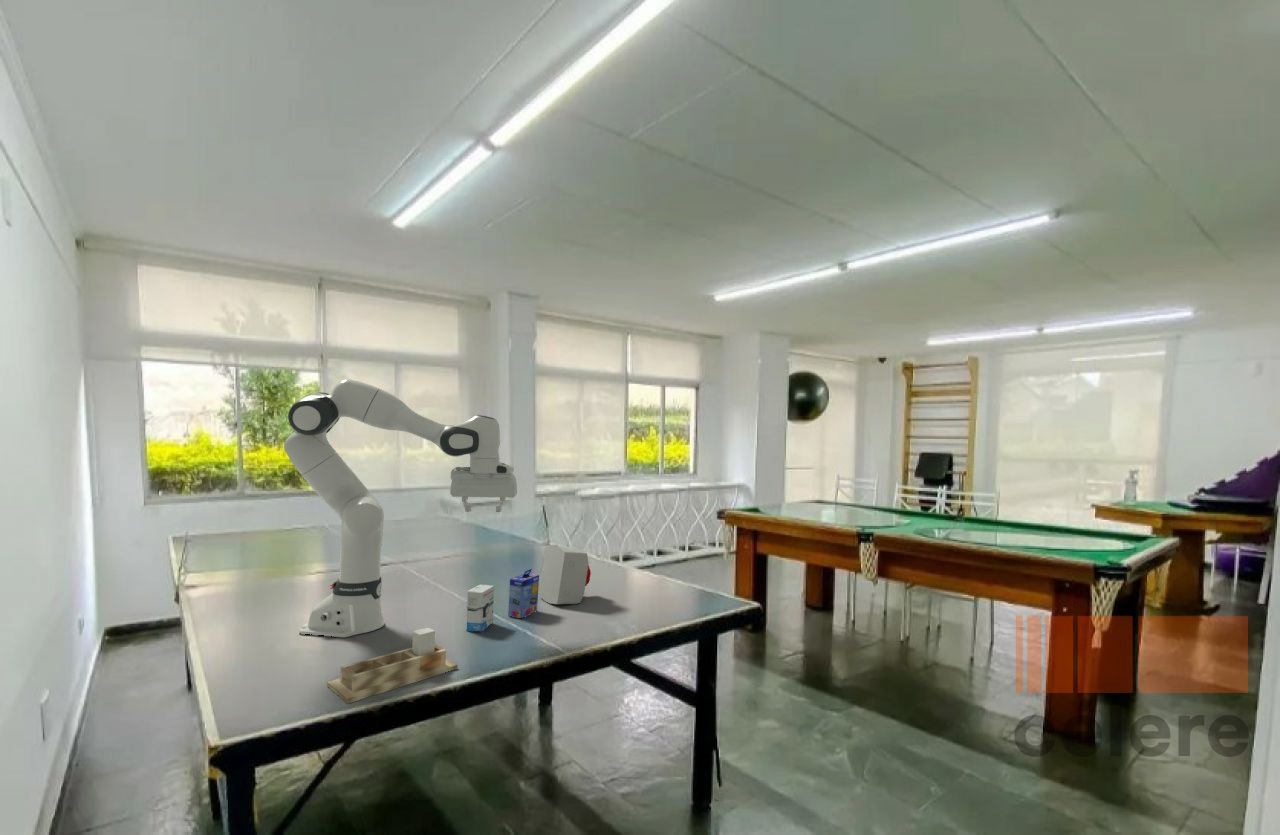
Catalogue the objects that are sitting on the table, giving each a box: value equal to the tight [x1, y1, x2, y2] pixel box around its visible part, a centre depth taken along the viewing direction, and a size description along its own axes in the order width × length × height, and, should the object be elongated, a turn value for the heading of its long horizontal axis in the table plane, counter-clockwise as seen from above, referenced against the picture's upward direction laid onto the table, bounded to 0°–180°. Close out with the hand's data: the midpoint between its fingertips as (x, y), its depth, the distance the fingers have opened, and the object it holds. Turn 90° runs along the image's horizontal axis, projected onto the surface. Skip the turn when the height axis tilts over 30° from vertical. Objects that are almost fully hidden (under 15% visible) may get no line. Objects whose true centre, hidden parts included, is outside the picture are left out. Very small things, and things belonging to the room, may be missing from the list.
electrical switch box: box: [538, 544, 591, 605], centre depth 206 cm, size 15×15×20 cm
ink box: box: [466, 584, 495, 632], centre depth 174 cm, size 8×5×12 cm, turn 168°
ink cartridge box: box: [507, 568, 540, 619], centre depth 188 cm, size 10×6×14 cm, turn 158°
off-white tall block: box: [411, 627, 436, 657], centre depth 143 cm, size 4×4×8 cm
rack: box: [326, 644, 458, 704], centre depth 137 cm, size 26×12×4 cm, turn 138°
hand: (483, 511), depth 180 cm, fingers open, 8 cm apart
